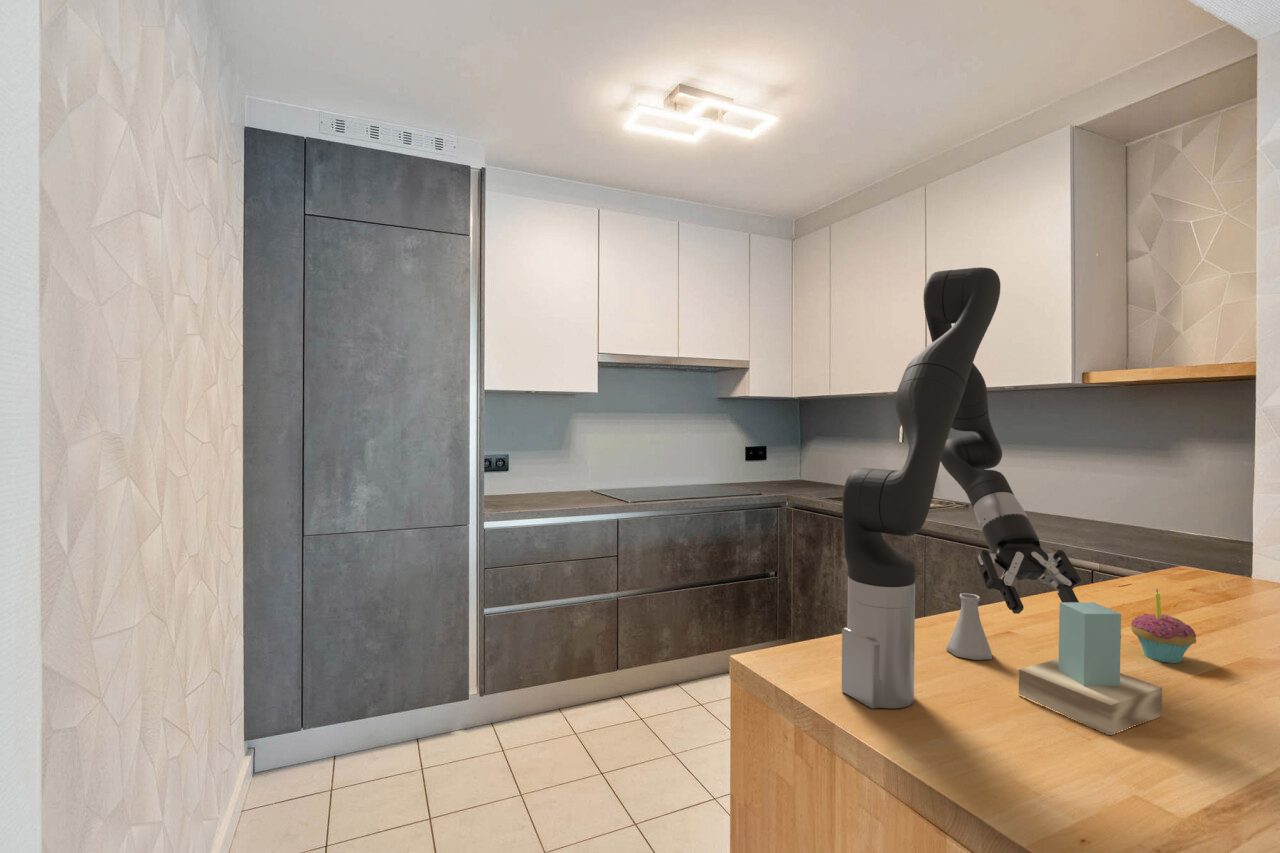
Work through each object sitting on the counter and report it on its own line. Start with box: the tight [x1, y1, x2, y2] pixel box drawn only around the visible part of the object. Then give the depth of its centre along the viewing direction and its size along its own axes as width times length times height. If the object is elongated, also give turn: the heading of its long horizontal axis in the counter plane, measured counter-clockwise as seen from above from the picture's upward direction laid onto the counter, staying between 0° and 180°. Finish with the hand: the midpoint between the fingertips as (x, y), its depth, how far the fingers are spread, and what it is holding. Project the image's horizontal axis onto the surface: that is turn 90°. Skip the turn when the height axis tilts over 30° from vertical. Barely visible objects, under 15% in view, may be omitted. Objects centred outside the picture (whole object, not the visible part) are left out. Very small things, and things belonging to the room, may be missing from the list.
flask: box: [946, 592, 993, 661], centre depth 105 cm, size 7×7×10 cm
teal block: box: [1058, 601, 1122, 686], centre depth 86 cm, size 5×5×10 cm
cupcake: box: [1130, 588, 1197, 664], centre depth 103 cm, size 9×8×12 cm
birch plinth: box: [1018, 657, 1163, 736], centre depth 86 cm, size 12×12×4 cm
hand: (1046, 611), depth 95 cm, fingers open, 8 cm apart
